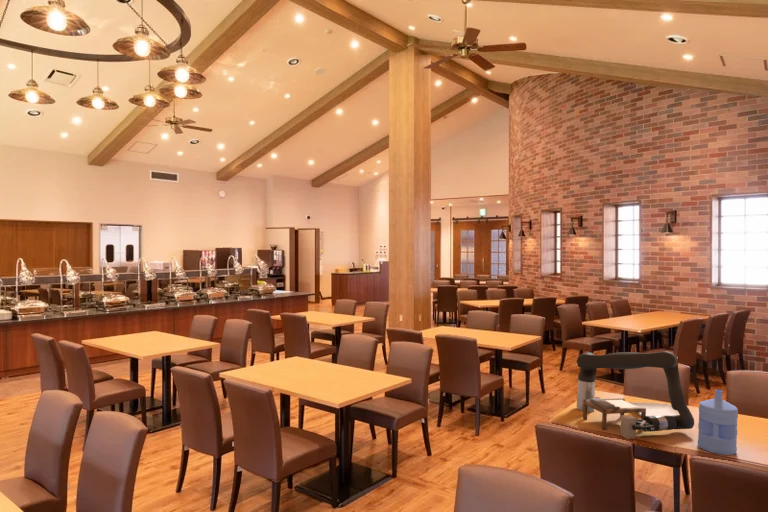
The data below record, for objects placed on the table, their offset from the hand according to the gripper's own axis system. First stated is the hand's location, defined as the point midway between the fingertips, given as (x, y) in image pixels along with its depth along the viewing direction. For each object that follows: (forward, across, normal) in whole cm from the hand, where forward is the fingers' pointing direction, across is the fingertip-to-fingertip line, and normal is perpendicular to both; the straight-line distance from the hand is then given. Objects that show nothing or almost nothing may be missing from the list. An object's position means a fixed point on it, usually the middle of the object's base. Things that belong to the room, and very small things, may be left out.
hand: (627, 424), depth 262 cm
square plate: (-41, -29, +7) cm, 50 cm away
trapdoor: (-6, -19, -2) cm, 20 cm away
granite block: (-1, 0, +6) cm, 6 cm away
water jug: (-33, +21, +6) cm, 39 cm away
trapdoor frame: (-6, -19, +6) cm, 21 cm away
